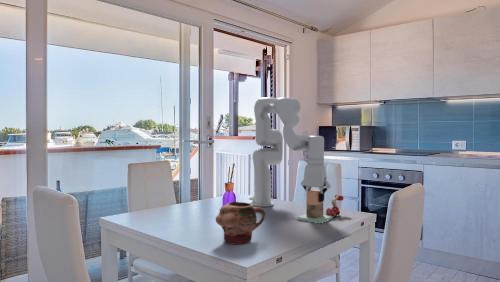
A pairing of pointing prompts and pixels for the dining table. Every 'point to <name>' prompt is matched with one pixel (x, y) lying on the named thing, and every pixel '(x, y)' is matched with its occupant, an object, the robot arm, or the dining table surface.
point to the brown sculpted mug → (239, 221)
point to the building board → (317, 220)
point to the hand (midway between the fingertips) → (315, 200)
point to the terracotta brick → (313, 197)
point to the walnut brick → (314, 211)
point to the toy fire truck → (334, 207)
